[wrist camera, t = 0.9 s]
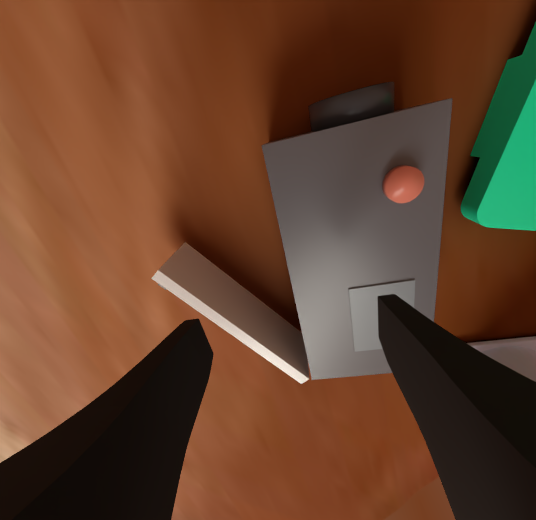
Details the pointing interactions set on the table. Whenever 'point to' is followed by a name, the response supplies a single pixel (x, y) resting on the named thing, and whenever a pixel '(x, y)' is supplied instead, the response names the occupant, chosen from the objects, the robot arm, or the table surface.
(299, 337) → the side door
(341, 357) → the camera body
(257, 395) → the table surface
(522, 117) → the camera mount
